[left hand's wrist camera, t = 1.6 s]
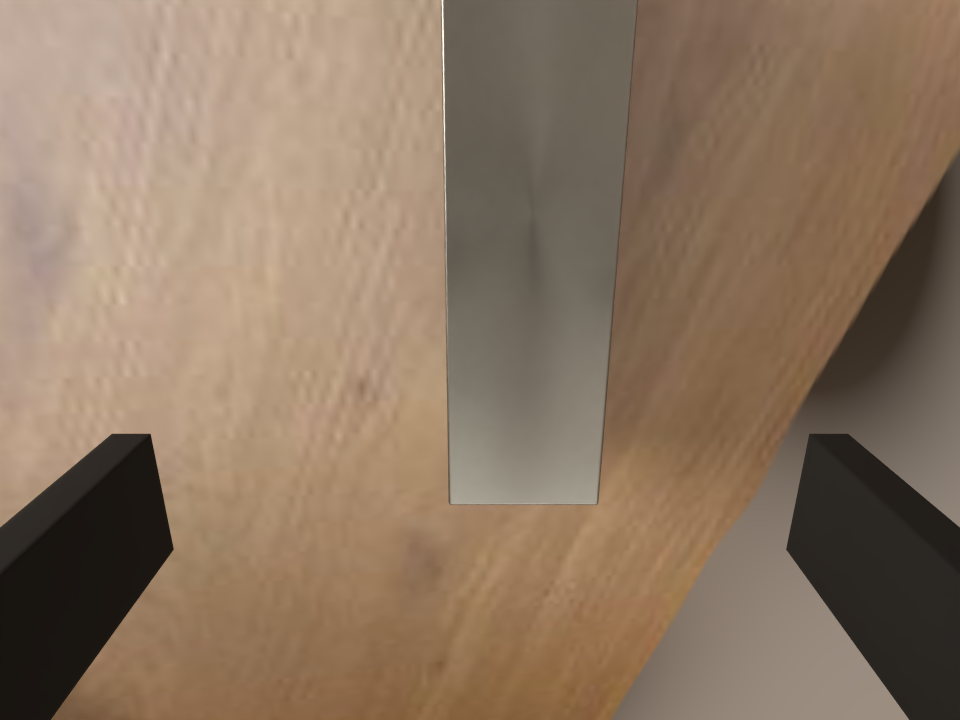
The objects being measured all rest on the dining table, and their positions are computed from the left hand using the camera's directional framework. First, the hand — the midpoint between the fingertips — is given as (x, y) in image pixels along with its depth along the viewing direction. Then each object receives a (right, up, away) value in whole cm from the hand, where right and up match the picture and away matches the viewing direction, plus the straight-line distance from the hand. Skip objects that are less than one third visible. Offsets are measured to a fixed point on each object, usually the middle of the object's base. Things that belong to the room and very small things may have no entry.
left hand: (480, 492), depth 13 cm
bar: (+2, +10, +14) cm, 18 cm away
